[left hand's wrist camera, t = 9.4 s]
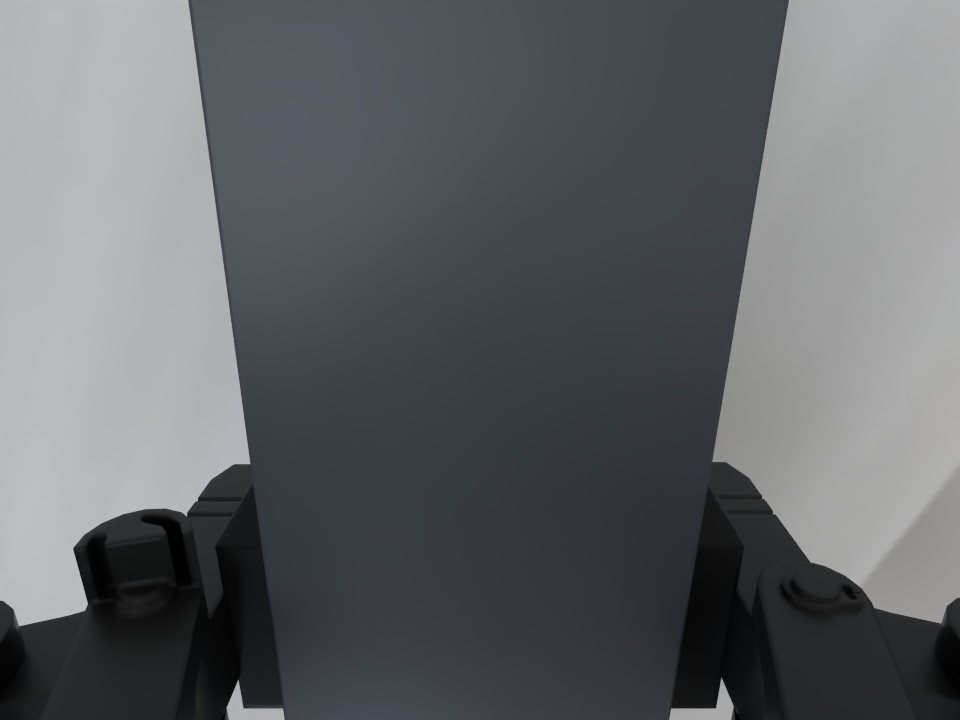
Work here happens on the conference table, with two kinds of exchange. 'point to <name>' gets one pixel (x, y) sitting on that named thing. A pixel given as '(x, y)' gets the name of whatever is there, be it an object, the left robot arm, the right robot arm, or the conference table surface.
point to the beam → (483, 333)
